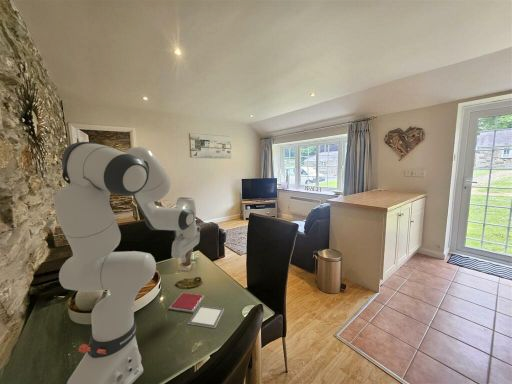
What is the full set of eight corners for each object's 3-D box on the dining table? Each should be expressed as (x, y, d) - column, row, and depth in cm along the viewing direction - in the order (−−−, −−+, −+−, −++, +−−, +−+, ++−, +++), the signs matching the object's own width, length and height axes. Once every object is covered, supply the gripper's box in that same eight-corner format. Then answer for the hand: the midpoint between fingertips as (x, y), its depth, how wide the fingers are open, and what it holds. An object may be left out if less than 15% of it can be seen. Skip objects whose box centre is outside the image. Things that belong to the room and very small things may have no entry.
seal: (173, 291, 115) (201, 289, 117) (172, 283, 114) (201, 282, 116) (177, 280, 124) (203, 279, 126) (176, 273, 123) (203, 272, 125)
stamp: (189, 272, 99) (189, 254, 98) (177, 271, 100) (177, 253, 99) (195, 266, 104) (195, 249, 103) (184, 265, 106) (183, 248, 104)
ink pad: (193, 312, 97) (193, 310, 97) (169, 309, 99) (169, 306, 99) (204, 297, 109) (204, 294, 109) (182, 294, 111) (182, 292, 111)
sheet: (214, 328, 88) (214, 327, 88) (187, 323, 90) (187, 322, 90) (224, 309, 100) (224, 308, 100) (200, 306, 102) (200, 305, 102)
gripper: (181, 239, 89) (181, 270, 91) (201, 226, 109) (202, 252, 111) (167, 237, 90) (168, 269, 92) (190, 225, 110) (190, 250, 112)
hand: (186, 259), depth 102 cm, fingers closed on stamp, 4 cm apart
